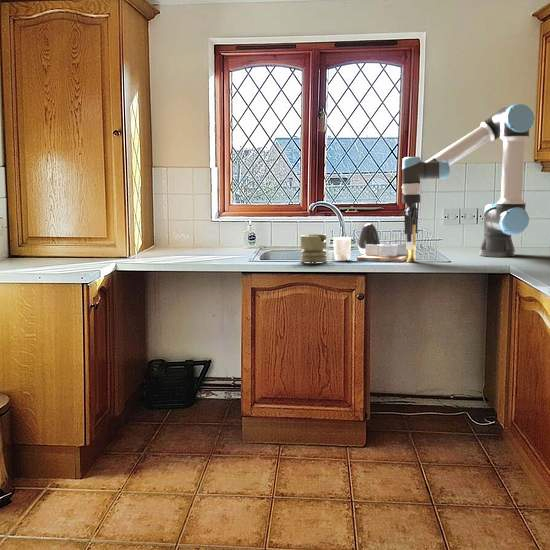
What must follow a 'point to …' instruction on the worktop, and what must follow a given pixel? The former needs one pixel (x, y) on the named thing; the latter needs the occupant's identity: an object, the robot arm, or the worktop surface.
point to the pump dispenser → (368, 237)
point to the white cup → (342, 248)
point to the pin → (412, 252)
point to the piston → (313, 248)
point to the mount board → (383, 258)
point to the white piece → (386, 250)
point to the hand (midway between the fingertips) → (411, 248)
